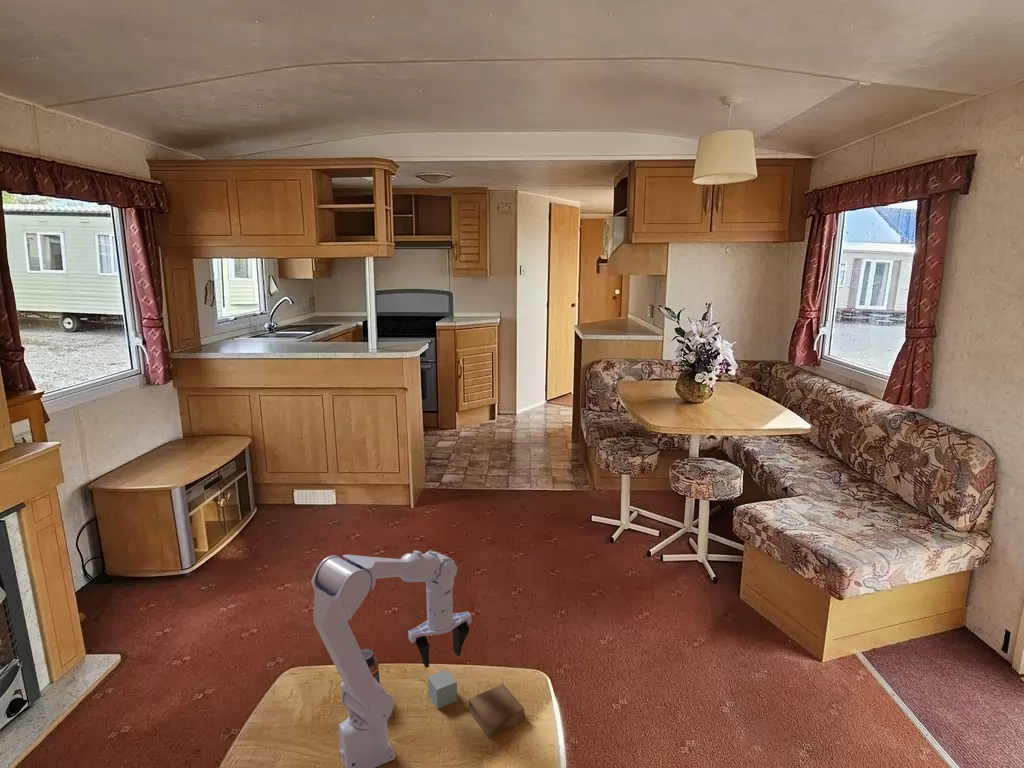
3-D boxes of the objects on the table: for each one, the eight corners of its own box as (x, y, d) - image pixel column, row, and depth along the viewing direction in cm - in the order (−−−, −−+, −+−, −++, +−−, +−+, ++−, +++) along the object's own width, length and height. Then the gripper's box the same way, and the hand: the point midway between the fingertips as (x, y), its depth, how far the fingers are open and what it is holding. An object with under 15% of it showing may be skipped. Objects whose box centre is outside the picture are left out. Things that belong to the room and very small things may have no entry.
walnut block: (488, 739, 124) (488, 725, 123) (468, 712, 131) (468, 698, 131) (524, 722, 128) (524, 708, 128) (503, 696, 136) (503, 683, 135)
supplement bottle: (383, 689, 138) (381, 646, 136) (375, 708, 132) (373, 663, 130) (359, 687, 139) (356, 645, 136) (350, 706, 133) (347, 662, 131)
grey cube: (437, 709, 132) (436, 690, 131) (428, 695, 136) (427, 676, 135) (457, 701, 134) (456, 682, 133) (448, 687, 139) (447, 669, 138)
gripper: (461, 587, 137) (462, 639, 140) (402, 605, 130) (405, 659, 133) (475, 602, 131) (476, 655, 134) (413, 622, 124) (416, 678, 127)
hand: (441, 659), depth 133 cm, fingers open, 7 cm apart
